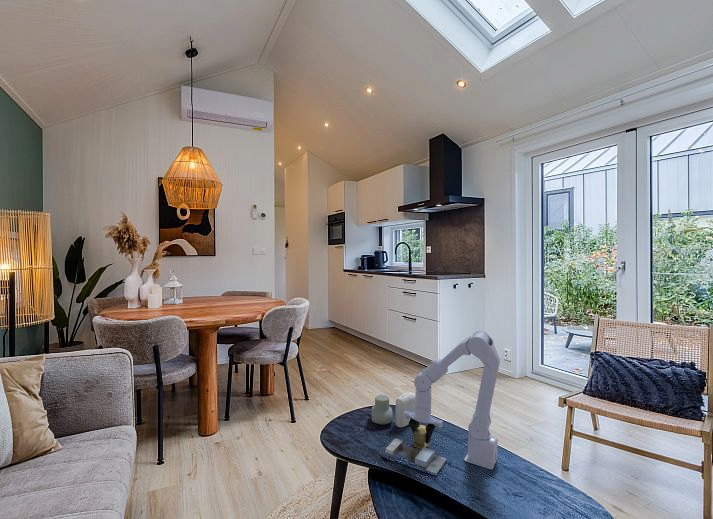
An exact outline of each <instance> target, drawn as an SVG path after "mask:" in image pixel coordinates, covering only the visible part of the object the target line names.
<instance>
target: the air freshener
mask: <svg viewBox="0 0 713 519" xmlns="http://www.w3.org/2000/svg"><path fill="white" fill-rule="evenodd" d="M389 397H390V396H387V395H385V394H379V395H377V396H375V397H374V405H373V406H372V407H371V421H372V422H373V423H375V424H377V425H388V424H390V423H392V422H393V419H394V418H393V416H394V415H393V408H392V407H391V406H390V398H389Z"/></svg>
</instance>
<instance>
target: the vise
mask: <svg viewBox="0 0 713 519" xmlns="http://www.w3.org/2000/svg"><path fill="white" fill-rule="evenodd" d="M384 451H385V453H386V454H389V455H392V456H394V455H395V454H396V453H398V454H400V455H401V456H402V455H403V456H405V457H406V458H407V459H408V461H409V462H413V463H414V464H415V457H416V456H417V455H418V454H419V452H420V451H421V449H418V448H414V446H410V445H406V444H404V441H403V440H402V439H399V438H395V437H394V439H393V440H392V441H391V442H390V443H389V445H387V446H386V448H385V450H384ZM446 461H448V459H447V457H443V456H440V455H437V454H435V456H434V458H433V459H432V460H431V462H430V463H429V464H428V466H427V467H426V468H425V467H422V466H419V465H418V466H419V467H421V469H422V468H423V469H424V470H427V471H429V472H432V473H435V474H437V473H438V472H439V470H440V469H441V468H442V466H443V465H444V464H446V463H447V462H446ZM445 462H446V463H445ZM416 466H417V464H416ZM444 466H445V465H444ZM444 466H443V467H444ZM442 469H443V468H442ZM442 469H441V470H442ZM439 473H440V472H439Z"/></svg>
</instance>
